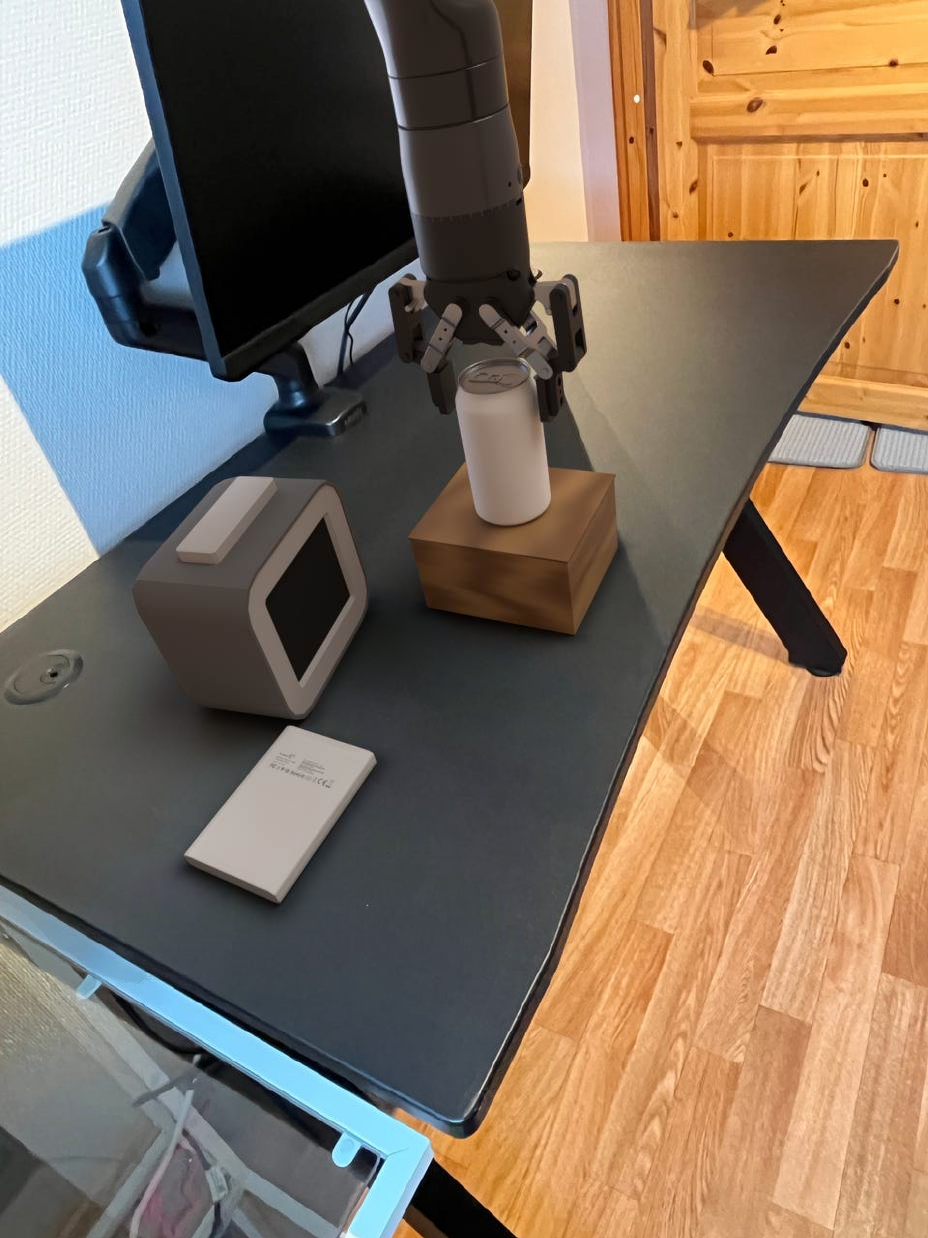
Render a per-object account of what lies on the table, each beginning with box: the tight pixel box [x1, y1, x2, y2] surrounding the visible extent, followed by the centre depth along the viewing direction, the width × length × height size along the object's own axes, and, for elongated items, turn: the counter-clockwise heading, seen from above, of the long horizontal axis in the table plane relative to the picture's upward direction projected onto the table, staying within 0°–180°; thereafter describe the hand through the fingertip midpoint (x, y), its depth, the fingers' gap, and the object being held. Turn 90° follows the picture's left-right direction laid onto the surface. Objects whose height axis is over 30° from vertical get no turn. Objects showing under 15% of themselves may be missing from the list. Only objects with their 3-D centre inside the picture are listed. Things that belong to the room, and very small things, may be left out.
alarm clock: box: [131, 475, 371, 721], centre depth 69 cm, size 16×11×16 cm
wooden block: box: [406, 460, 619, 636], centre depth 74 cm, size 14×12×8 cm
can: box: [455, 357, 551, 526], centre depth 67 cm, size 6×6×12 cm
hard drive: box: [183, 725, 378, 904], centre depth 61 cm, size 2×8×12 cm
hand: (499, 413), depth 65 cm, fingers open, 8 cm apart
